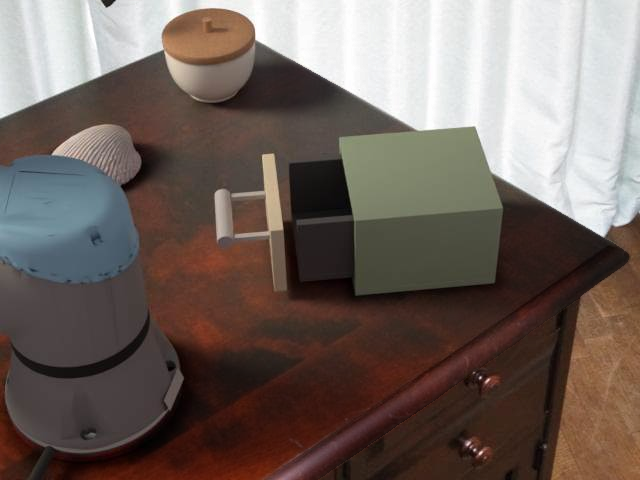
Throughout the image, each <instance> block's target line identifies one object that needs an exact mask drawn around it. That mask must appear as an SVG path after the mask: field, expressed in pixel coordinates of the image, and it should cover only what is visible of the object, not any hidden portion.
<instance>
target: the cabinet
mask: <svg viewBox="0 0 640 480" xmlns="http://www.w3.org/2000/svg"><path fill="white" fill-rule="evenodd" d="M338 149H339V151H338V153H339V154H341V155H342V160H343V166H344V171H345V176H346V181H347V187H348V192H349V197H350V202H351V207H352V213H353V218H354V277H351V278H352V285H353V291H354V295H355V296H366V295H376V294H391V293H401V292H410V291H412V292H413V291H423V290H433V289H444V288H445V289H446V288H455V287H456V288H457V287H468V286H469V287H470V286H478V285H490V284H491V285H492V284H495V283H496V277H497V276H496V275H497V266H498V258H499V249H500V240H501V233H502V232H501V231H502V222H503V214H504V206H503V204H502V200H501V198H500V195H499V192H498V188H497V186H496V183H495V180H494V177H493V174H492V171H491V168H490V166H489V163H488V159H487V157H486V153H485V151H484V148H483V145H482V142H481V138H480V137H479V133H478V130H477V127H476V126H475V125H474V126H473V125H472V126H461V127H448V128H436V129H425V130H423V129H422V130H411V131H410V130H409V131H399V132H387V133H385V132H384V133H375V134H362V135H349V136H339V137H338Z"/></svg>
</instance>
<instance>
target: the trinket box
mask: <svg viewBox="0 0 640 480" xmlns="http://www.w3.org/2000/svg"><path fill="white" fill-rule="evenodd" d="M162 29H163V30H162V31H161V36H160V37H161V43H162V48H163V52H164V57H165V62H166V66H167V70H168V71H169V73H170V76H171V78H172V80H173V81H174V83H175V84H176V85H177V86H178V87H179V88H180V89H181V90H182V91H183V92H185V93H186V94H188V95H189V96H190V97H191V98H192V99H194V100H196V101H198V102H202V103H208V104H210V103H211V104H214V103H215V104H217V103H222V102H225V101H228V100H230V99H232V98H233V97H235V96H236V95H237V94H238V92H239V91H240V90H241V89H242V88H243V87H244V86H245V85H246V84H247V82H248V80H249V79H250V77H251V75H252V72H253V71H254V70H253V69H254V65H255V61H256V60H255V59H256V28H255V25H254V24H253V22H252V20H250V18H249V17H247V16H246V15H244V14H242V13H240V12H238V11H236V10H232V9H227V8H220V7H209V8H199V9H194V10H190V11H186V12H183V13H181V14H179V15H177V16H176V17H174V18H172V19H171V20H170V21H169V22H168V23H166V25H165V26H164V27H163V28H162Z"/></svg>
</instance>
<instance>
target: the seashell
mask: <svg viewBox="0 0 640 480" xmlns="http://www.w3.org/2000/svg"><path fill="white" fill-rule="evenodd" d="M132 139H133V138H132V136H131V134H130V133H129V131H128V130H126V129H125V128H124V127H122V126H120V125H117V124H108V123H106V124H105V123H104V124H98V125H94V126H91V127H88V128H85V129H84V130H81V131H79V132H78V133H76V134H74V135H72V136H70V138H68V139H66V140H64V141H63V143H61V144H59V146H58V147H56V149H54V150H53V152H52V154H51V155H58V156H66V157H72V158H76V159H80V160H83V161H85V162H88V163H90V164H92V165H94V166H96V167H98V168H100V169H102V170H103V171H104V172H105V173H106V175H107V176H108V177H111V178H113V179H114V180H115V181H116V182H117V183H118V184H119V185H120V187H121V186H122V185H125V184H126V183H129V182H130V181H131V180H133V179H134V178H135V176H136V175H137V173H139V171H140V170H141V166H142V159H141V155H140V154H139V151H136V149H135V147H134V144H133V142H134V141H133V140H132Z"/></svg>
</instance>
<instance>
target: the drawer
mask: <svg viewBox="0 0 640 480" xmlns="http://www.w3.org/2000/svg"><path fill="white" fill-rule="evenodd" d="M261 158H262V160H261V161H262V173H263V174H262V175H263V187H264V190H259V191H257V190H256V191H246V192H234V193H231V192H230V191H229V190H228V189H226V188H221V189H218V190H216V191H215V193H214V195H213V197H214V211H215V214H214V215H215V230H216V244H217V247H219V248H221V249H223V250H228V249H230V248H232V247H233V246H234V245H235V244H236V243H246V242H256V241H257V242H258V241H269V242H268V244H269V252H270V262H271V272H272V281H273V289H274V292H275V293H276V292H286V291H288V283H287V282H288V281H287V267H286V249H285V248H286V247H285V233H284V223H283V215H282V213H283V212H282V207H281V206H282V205H281V198H280V191H279V190H280V189H279V181H278V173H277V164H276V157H275V153H267V154H266V153H263V154H262V155H261ZM287 161H288V163H287V164H288V181H289V182H288V183H289V202H290V203H289V204H290V218H291V224H292V226H291V227H292V232H293V240H294V247H295V255H296V264H297V270H298V271H297V272H298V278H299V279H298V280H299V282H300V283H302V282H303V283H304V282H305V283H306V282H314V281H315V282H316V281H326V280H338V279H339V280H340V279H349V278H352V277H354V218H353V213H352V207H351V202H350V197H349V192H348V187H347V181H346V176H345V171H344V166H343V160H342V155H341V154H329V155H328V154H327V155H326V154H325V155H316V156H301V157H292V158H291V157H290V158H288V159H287ZM257 200H264V201H265V214H266V216H265V217H266V224H267V230H265V231H256V232H245V233H234V221H233V208H232V207H233V206H232V202H244V201H257Z"/></svg>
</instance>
